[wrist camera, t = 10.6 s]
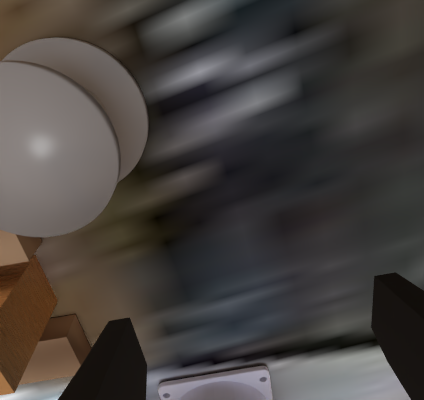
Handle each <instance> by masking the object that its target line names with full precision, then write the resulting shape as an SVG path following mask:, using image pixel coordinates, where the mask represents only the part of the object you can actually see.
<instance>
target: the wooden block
mask: <svg viewBox="0 0 424 400" xmlns="http://www.w3.org/2000/svg"><path fill="white" fill-rule="evenodd" d="M57 302H58V301H57V299H56V296H55V294H54V292H53V290H52V288H51V286H50V284H49V282H48V280H47V278H46V276H45V274H44V272H43V270H42V268H41V266H40V264H39V262H38V260H37V258H36V255H33V256H32V258H31V259H30V260H29V261H28V262H22V263H16V264H10V265H5V266H0V395H4V394H10V393H15V391H16V389H17V387H18V384H19V382H20V380H21V378H22V376H23V374H24V372H25V370H26V367H27V365H28V363H29V361H30V359H31V357H32V355H33V353H34V350H35V348H36V346H37V344H38V342H39V340H40V338H41V336H42V333H43V331H44V329H45V327H46V325H47V323H48V321H49V319H50V316H51V314H52V312H53V310H54V308H55V306H56V304H57Z"/></svg>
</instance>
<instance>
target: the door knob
mask: <svg viewBox="0 0 424 400" xmlns="http://www.w3.org/2000/svg"><path fill="white" fill-rule="evenodd" d="M148 132H149V114H148V109H147V104H146V101H145V98H144V95H143V93H142V91H141V88H140V86H139V85H138V83H137V81H136V80H135V78H134V77H133V75H132V74H131V73H130V72H129V70H128V69H127V68H126V67H125V66H124V65H123V64H122V63H121V62H120V61H119V60H118V59H117V58H115V57H114V56H113V55H111V54H110V53H109V52H107V51H105V50H104V49H102V48H100V47H98V46H96V45H94V44H91V43H89V42H86V41H82V40H79V39H73V38H62V37H56V38H46V39H39V40H35V41H31V42H28V43H26V44H24V45H21V46H19V47H18V48H16V49H15V50H13V51H12V52H10V53H9V54H8V55H7V56H6V57H5V58H4V59H3V60H2V61H0V230H3V231H6V232H9V233H12V234H17V235H22V236H29V237H52V236H59V235H63V234H68V233H70V232H73V231H76V230H78V229H80V228H82V227H84V226H86V225H87V224H89V223H90V222H91V221H93V220H94V219H95V218H96V217H97V216H98V215H99V214H100V213H101V212H102V211H103V210H104V208H105V207H106V206H107V204H108V202H109V200H110V199H111V197H112V195H113V192H114V190H115V188H116V185H117V182H119V181H120V180H122V179H123V178H125V177H126V176H127V175H128V174H129V173H130V172H131V171H132V170H133V168H134V167H135V166H136V164H137V163H138V161H139V159H140V158H141V156H142V153H143V150H144V148H145V145H146V142H147V137H148Z"/></svg>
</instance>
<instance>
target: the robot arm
mask: <svg viewBox="0 0 424 400" xmlns="http://www.w3.org/2000/svg"><path fill="white" fill-rule="evenodd" d="M371 327H372V330H373V332H374V334H375V336H376V338H377V341H378V343H379V345H380V347H381V349H382V351H383V353H384V355H385V357H386V359H387V361H388V363H389V365H390V366H391V368H392V369H393V371H394V373H395V374H396V376H397V378H398V379H399V381H400V382H401V384H402V386H403V387H404V389H405V391H406V392H407V394H408V395H409V397H410V399H411V400H424V291H423V290H422V289H420V288H419V287H417V286H415V285H414V284H412V283H411V282H409V281H408V280H406V279H405V278H403V277H402V276H400V275H399V274H397V273H390V274H384V275H378V276H374V291H373V308H372V325H371ZM146 381H147V363H146V361H145V358H144V355H143V352H142V350H141V347H140V344H139V342H138V339H137V336H136V333H135V331H134V328H133V325H132V322H131V320H130V318H124V319H119V320H113V321H109V322H108V324H107V325H106V327H105V328H104V330H103V331H102V333H101V334H100V336H99V338H98V339H97V341H96V342H95V344H94V346H93V347H92V349H91V350H90V352H89V354H88V355H87V357H86V358H85V360H84V361H83V363H82V365H81V366H80V368H79V369H78V371H77V372H76V374H75V375H74V377H73V378H72V380H71V381H70V383H69V384H68V386H67V387H66V389H65V390H64V392H63V393H62V395H61V396H60V397H59V399H58V400H146ZM158 393H159V396H160V398H161V400H273V397H272V389H271V382H270V374H269V370H268V368H267V367H266V366H257V367H251V368H245V369H239V370H233V371H227V372H221V373H214V374H208V375H202V376H196V377H190V378H184V379H178V380H172V381H166V382H162V383H160V384H159V386H158Z"/></svg>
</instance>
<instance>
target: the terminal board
mask: <svg viewBox="0 0 424 400" xmlns="http://www.w3.org/2000/svg"><path fill="white" fill-rule="evenodd" d="M41 243H42V241H41V238H40V237H29V236H22V235H17V234H12V233H9V232H6V231H3V230H0V266H5V265H10V264H16V263H22V262H28V261H29V260H30V259H31V258H32V256H33V255H34V253H35V252H36V250H37V249H38V247H39V246H40V244H41ZM90 350H91V347H90V345H89V343H88V341H87V339H86V336H85V334H84V332H83V330H82V328H81V325H80V323H79V321H78V319H77V317H76V315H75V314H74V315H68V316H62V317H56V318H50V319H49V321H48V323H47V325H46V327H45V329H44V331H43V333H42V336H41V338H40V340H39V342H38V344H37V346H36V348H35V350H34V353H33V355H32V357H31V359H30V361H29V363H28V365H27V367H26V370H25V372H24V374H23V376H22V378H21V380H20V382H19V384H18V385H20V384H26V383H32V382H38V381H44V380H50V379H56V378H62V377H68V376H74V375H75V374H76V372H77V371H78V369H79V368H80V366H81V365H82V363H83V361H84V360H85V358H86V357H87V355H88V354H89V352H90Z"/></svg>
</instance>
